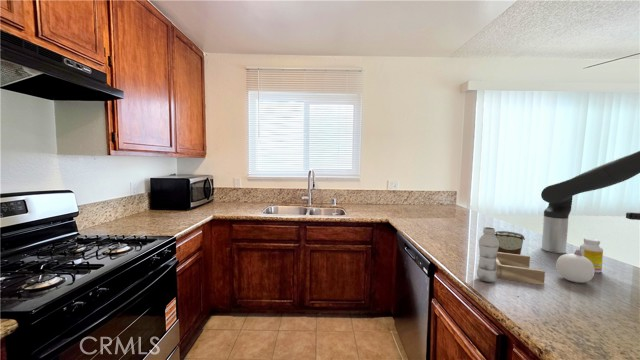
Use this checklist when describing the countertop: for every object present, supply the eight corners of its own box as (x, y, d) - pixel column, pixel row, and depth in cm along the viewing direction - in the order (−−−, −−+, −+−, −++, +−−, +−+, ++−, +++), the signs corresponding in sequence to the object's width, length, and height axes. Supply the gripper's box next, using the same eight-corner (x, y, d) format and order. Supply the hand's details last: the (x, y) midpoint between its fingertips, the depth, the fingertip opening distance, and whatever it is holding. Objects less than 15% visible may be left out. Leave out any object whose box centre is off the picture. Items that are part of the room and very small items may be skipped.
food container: (522, 253, 128) (523, 233, 127) (524, 256, 123) (525, 236, 122) (492, 248, 135) (493, 229, 134) (492, 252, 130) (493, 232, 129)
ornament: (592, 280, 98) (594, 249, 98) (594, 290, 91) (597, 256, 90) (555, 272, 105) (557, 243, 105) (555, 281, 98) (557, 250, 97)
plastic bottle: (472, 277, 101) (474, 226, 100) (488, 276, 102) (491, 226, 100) (484, 284, 95) (486, 230, 93) (501, 284, 95) (504, 230, 94)
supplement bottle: (606, 273, 104) (608, 242, 103) (586, 272, 106) (589, 241, 105) (592, 267, 111) (594, 237, 110) (574, 266, 112) (576, 236, 111)
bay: (489, 262, 116) (489, 251, 116) (528, 267, 111) (529, 255, 110) (497, 277, 101) (498, 265, 100) (544, 285, 95) (544, 271, 94)
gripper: (685, 205, 90) (616, 202, 97) (724, 212, 78) (642, 208, 85) (683, 227, 90) (614, 222, 97) (721, 237, 78) (640, 230, 85)
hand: (627, 215), depth 91 cm, fingers closed
